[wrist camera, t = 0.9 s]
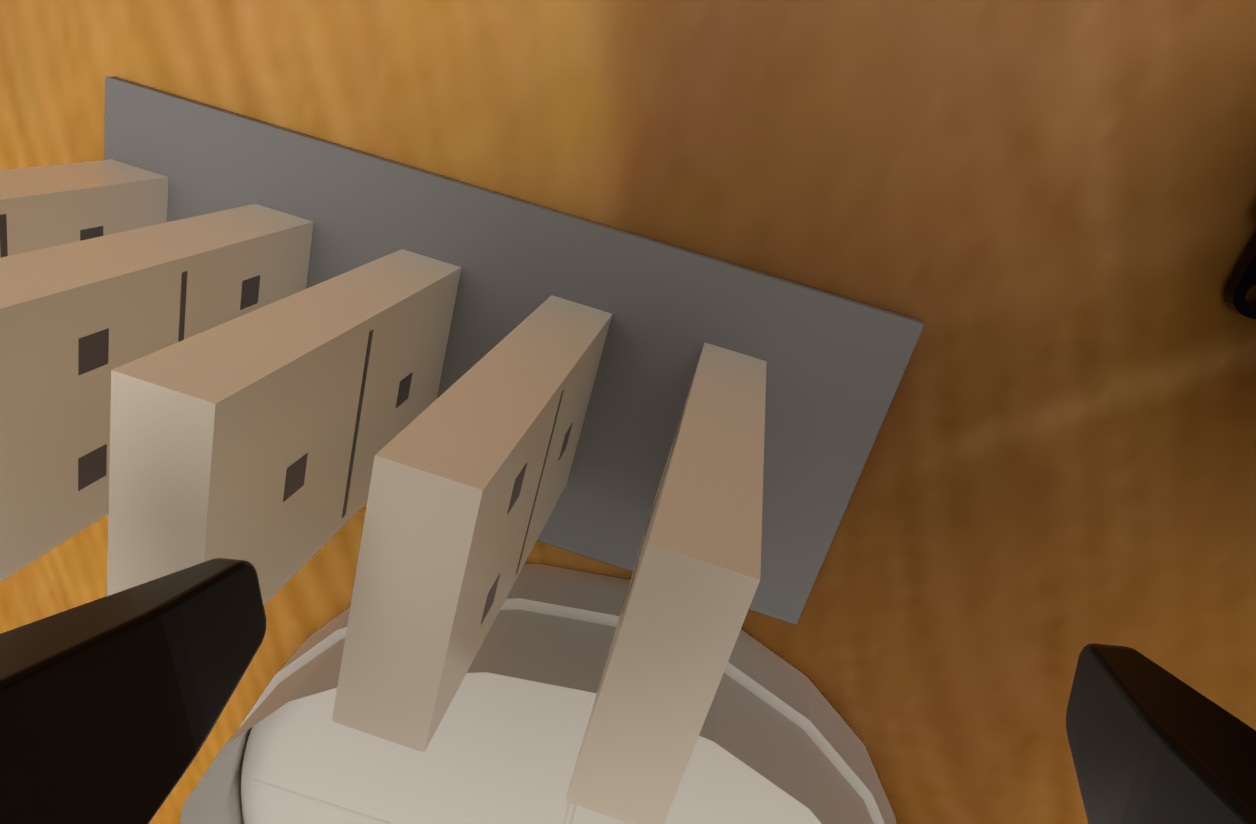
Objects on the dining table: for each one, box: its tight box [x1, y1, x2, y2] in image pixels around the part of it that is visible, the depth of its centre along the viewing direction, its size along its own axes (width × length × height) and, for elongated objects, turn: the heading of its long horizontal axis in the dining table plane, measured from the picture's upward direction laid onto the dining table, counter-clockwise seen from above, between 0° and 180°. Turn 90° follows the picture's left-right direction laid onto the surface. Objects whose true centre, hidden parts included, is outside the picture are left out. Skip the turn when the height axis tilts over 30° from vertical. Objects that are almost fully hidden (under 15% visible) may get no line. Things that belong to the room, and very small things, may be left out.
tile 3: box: [107, 249, 462, 605], centre depth 17 cm, size 2×5×10 cm, turn 164°
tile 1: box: [565, 342, 767, 824], centre depth 17 cm, size 2×5×10 cm, turn 164°
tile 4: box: [0, 204, 314, 582], centre depth 18 cm, size 2×5×10 cm, turn 165°
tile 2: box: [332, 295, 612, 753], centre depth 17 cm, size 2×5×10 cm, turn 165°
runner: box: [104, 77, 924, 625], centre depth 22 cm, size 21×9×1 cm, turn 74°
